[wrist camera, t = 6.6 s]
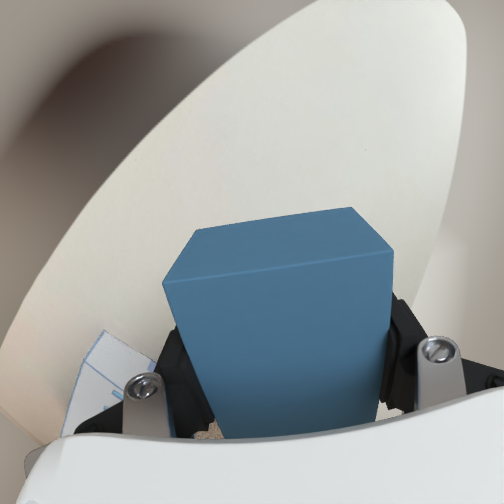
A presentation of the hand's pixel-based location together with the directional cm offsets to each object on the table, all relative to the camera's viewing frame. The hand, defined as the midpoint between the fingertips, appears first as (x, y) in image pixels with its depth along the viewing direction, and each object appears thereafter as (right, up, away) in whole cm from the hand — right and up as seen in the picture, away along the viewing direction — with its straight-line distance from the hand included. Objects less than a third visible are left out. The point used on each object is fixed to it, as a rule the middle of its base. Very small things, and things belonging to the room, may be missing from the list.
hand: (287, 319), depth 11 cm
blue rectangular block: (0, 0, +1) cm, 1 cm away
